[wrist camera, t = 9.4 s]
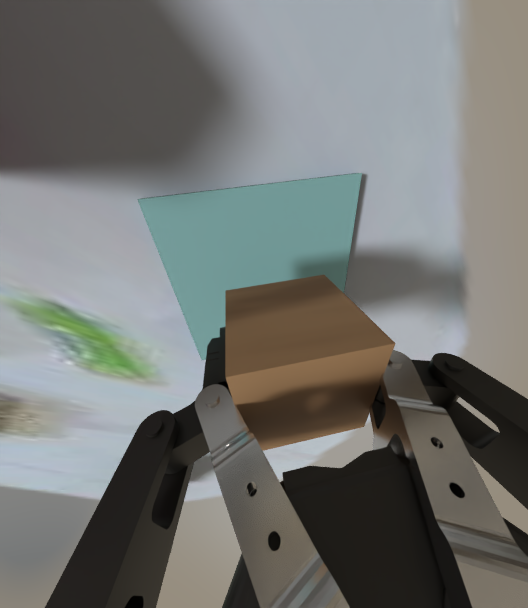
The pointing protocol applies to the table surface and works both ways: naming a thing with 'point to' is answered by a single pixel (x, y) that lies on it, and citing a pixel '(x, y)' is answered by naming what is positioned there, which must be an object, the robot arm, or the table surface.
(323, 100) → the table surface
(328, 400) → the cube
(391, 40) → the table surface
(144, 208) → the mat
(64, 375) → the table surface
